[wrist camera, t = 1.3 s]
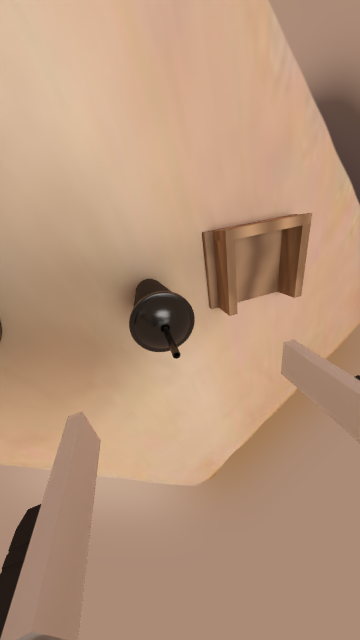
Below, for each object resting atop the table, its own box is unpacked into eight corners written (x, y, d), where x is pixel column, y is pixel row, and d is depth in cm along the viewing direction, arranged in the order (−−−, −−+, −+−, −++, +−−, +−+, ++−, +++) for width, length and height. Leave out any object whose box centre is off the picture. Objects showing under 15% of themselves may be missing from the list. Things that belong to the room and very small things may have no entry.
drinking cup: (174, 306, 36) (220, 374, 18) (134, 316, 35) (144, 400, 17) (166, 266, 33) (213, 303, 15) (122, 276, 31) (117, 329, 14)
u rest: (209, 307, 38) (222, 318, 33) (202, 232, 32) (215, 232, 27) (286, 287, 41) (307, 294, 36) (292, 214, 35) (319, 211, 30)
